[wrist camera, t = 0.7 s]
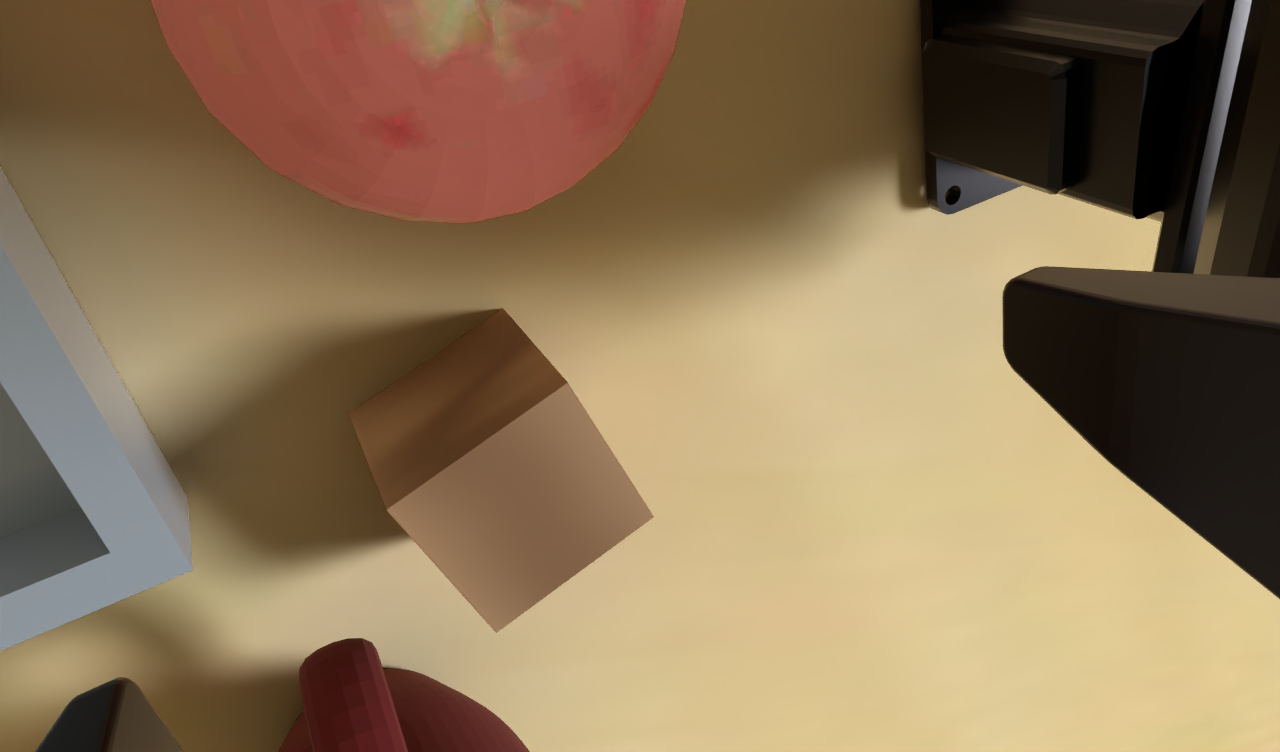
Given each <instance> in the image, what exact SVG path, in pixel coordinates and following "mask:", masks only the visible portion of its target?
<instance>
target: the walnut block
mask: <svg viewBox="0 0 1280 752" xmlns="http://www.w3.org/2000/svg"><path fill="white" fill-rule="evenodd" d="M349 417H350V419H351V422H352V425H353V427H354V430H355V432H356V435H357V437H358V440H359V442H360V445H361V447H362V450H363V452H364V455H365V457H366V460H367V462H368V465H369V467H370V470H371V473H372V475H373V478H374V480H375V483H376V485H377V488H378V490H379V493H380V495H381V498H382V500H383V503H384V505H385V508H386V510H387V511H388V512H389V514H390V515H391V516H392V517H393V518H394V519H395V520H396V521H397V522H398V524H399V525H400V526H401V527H402V528H403V529H404V530H405V531H406V533H407V534H408V535H409V536H410V537H411V538H412V539H413V540H414V541H415V543H416V544H417V545H418V546H419V547H420V548H421V549H422V550H423V552H424V553H425V554H426V555H427V556H428V557H429V558H430V559H431V560H432V562H433V563H434V564H435V565H436V566H437V567H438V568H439V569H440V571H441V572H442V573H443V574H444V575H445V576H446V577H447V578H448V579H449V581H450V582H451V583H452V584H453V585H454V586H455V587H456V588H457V590H458V591H459V592H460V593H461V594H462V595H463V596H464V597H465V598H466V600H467V601H468V602H469V603H470V604H471V605H472V606H473V607H474V609H475V610H476V611H477V612H478V613H479V614H480V615H481V616H482V617H483V619H484V620H485V621H486V622H487V623H488V624H489V625H490V626H491V628H492V629H493V630H494V631H495V632H496V633H497V632H498V631H499V630H501V629H502V628H504V627H505V626H506V625H508V624H509V623H510V622H512V621H513V620H514V619H516V618H517V617H518V616H520V615H521V614H523V613H524V612H525V611H527V610H528V609H529V608H531V607H532V606H533V605H535V604H536V603H537V602H539V601H540V600H542V599H543V598H544V597H546V596H547V595H548V594H550V593H551V592H552V591H554V590H555V589H557V588H558V587H559V586H561V585H562V584H563V583H565V582H566V581H567V580H569V579H570V578H571V577H573V576H574V575H576V574H577V573H578V572H580V571H581V570H582V569H584V568H585V567H586V566H588V565H589V564H591V563H592V562H593V561H595V560H596V559H597V558H599V557H600V556H601V555H603V554H604V553H605V552H607V551H608V550H610V549H611V548H612V547H614V546H615V545H616V544H618V543H619V542H620V541H622V540H623V539H625V538H626V537H627V536H629V535H630V534H631V533H633V532H634V531H635V530H637V529H638V528H639V527H641V526H642V525H644V524H645V523H646V522H648V521H649V520H650V519H652V518H653V517H654V516H653V515H652V513H651V512H650V510H649V509H648V507H647V505H646V504H645V502H644V501H643V499H642V498H641V496H640V495H639V493H638V491H637V490H636V488H635V487H634V485H633V484H632V482H631V481H630V479H629V477H628V476H627V474H626V473H625V471H624V470H623V468H622V466H621V465H620V463H619V462H618V460H617V459H616V457H615V456H614V454H613V452H612V451H611V449H610V448H609V446H608V445H607V443H606V442H605V440H604V438H603V437H602V435H601V434H600V432H599V431H598V429H597V428H596V426H595V424H594V423H593V421H592V420H591V418H590V417H589V415H588V414H587V412H586V410H585V409H584V407H583V406H582V404H581V403H580V401H579V399H578V398H577V396H576V395H575V393H574V392H573V390H572V389H571V387H570V385H569V384H568V382H567V381H566V380H565V379H564V378H563V377H562V376H561V374H560V373H559V372H558V371H557V370H556V369H555V368H554V366H553V365H552V364H551V363H550V362H549V361H548V359H547V358H546V357H545V356H544V355H543V354H542V353H541V351H540V350H539V349H538V348H537V347H536V346H535V345H534V343H533V342H532V341H531V340H530V339H529V338H528V337H527V335H526V334H525V333H524V332H523V331H522V330H521V328H520V327H519V326H518V325H517V324H516V323H515V322H514V320H513V319H512V318H511V317H510V316H509V315H508V314H507V312H506V311H505V310H504V309H501V310H500V311H498V312H497V313H496V314H494V315H493V316H491V317H490V318H488V319H487V320H485V321H484V322H482V323H481V324H479V325H478V326H476V327H475V328H474V329H472V330H471V331H469V332H468V333H466V334H465V335H463V336H462V337H460V338H459V339H457V340H456V341H454V342H453V343H452V344H450V345H449V346H447V347H446V348H444V349H443V350H441V351H440V352H438V353H437V354H435V355H434V356H432V357H431V358H430V359H428V360H427V361H425V362H424V363H422V364H421V365H419V366H418V367H416V368H415V369H413V370H412V371H411V372H409V373H408V374H406V375H405V376H403V377H402V378H400V379H399V380H397V381H396V382H394V383H393V384H391V385H390V386H389V387H387V388H386V389H384V390H383V391H381V392H380V393H378V394H377V395H375V396H374V397H372V398H371V399H369V400H368V401H367V402H365V403H364V404H362V405H361V406H359V407H358V408H356V409H355V410H353V411H352V412H350V413H349Z"/></svg>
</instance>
